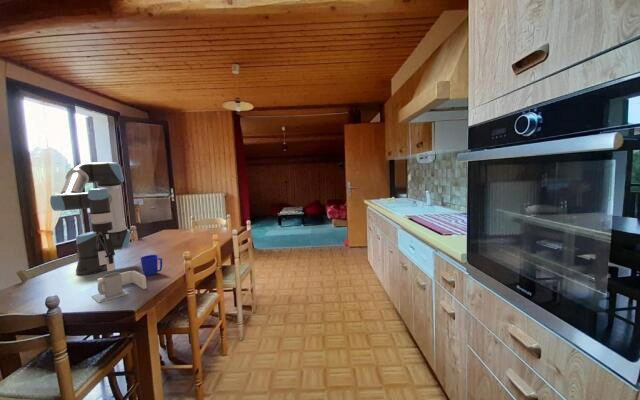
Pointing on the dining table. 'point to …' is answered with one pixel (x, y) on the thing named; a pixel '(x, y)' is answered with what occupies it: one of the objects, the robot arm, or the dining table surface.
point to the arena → (131, 279)
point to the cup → (111, 284)
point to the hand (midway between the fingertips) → (107, 267)
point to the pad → (102, 298)
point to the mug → (150, 264)
